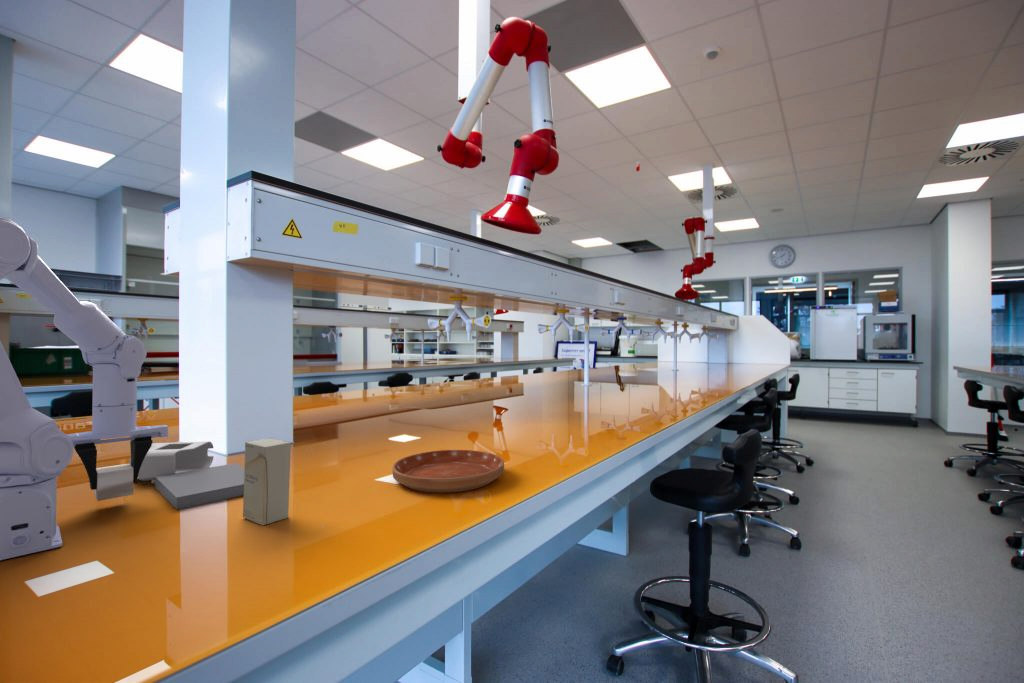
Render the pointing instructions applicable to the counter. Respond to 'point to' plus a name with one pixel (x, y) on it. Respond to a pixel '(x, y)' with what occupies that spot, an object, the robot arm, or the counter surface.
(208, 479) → the base plate
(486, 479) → the saucer
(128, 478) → the ash cube
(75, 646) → the counter surface
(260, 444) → the skincare box
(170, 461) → the cable organizer
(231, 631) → the counter surface
